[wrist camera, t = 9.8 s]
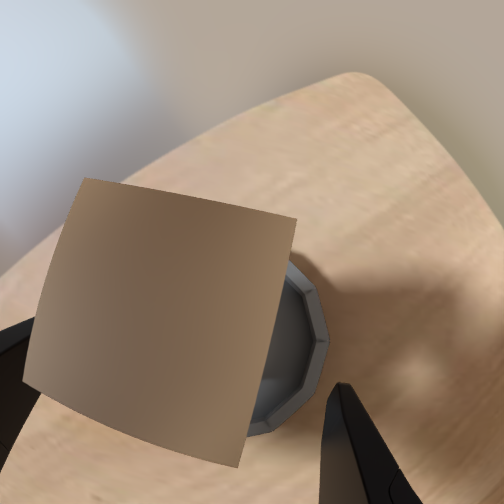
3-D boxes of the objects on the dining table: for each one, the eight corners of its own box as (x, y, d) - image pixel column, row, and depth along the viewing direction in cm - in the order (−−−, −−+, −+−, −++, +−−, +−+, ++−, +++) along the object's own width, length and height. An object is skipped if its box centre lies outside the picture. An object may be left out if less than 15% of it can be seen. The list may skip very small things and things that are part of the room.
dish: (341, 275, 19) (348, 268, 17) (288, 453, 16) (291, 462, 14) (167, 224, 20) (161, 214, 18) (110, 391, 16) (98, 394, 15)
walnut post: (265, 311, 17) (297, 219, 5) (248, 380, 16) (237, 468, 4) (196, 294, 18) (84, 177, 5) (178, 362, 17) (22, 381, 4)
